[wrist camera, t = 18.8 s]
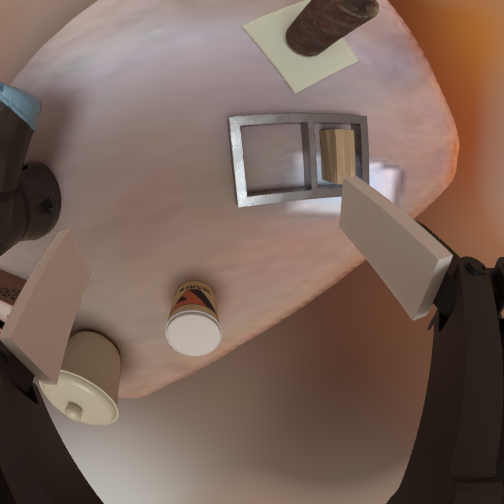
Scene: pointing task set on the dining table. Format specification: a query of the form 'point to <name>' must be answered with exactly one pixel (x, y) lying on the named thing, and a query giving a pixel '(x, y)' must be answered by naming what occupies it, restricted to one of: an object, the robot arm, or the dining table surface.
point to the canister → (87, 380)
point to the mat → (286, 59)
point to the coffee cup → (193, 320)
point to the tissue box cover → (8, 294)
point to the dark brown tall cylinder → (327, 23)
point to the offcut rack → (309, 156)
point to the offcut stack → (337, 154)
